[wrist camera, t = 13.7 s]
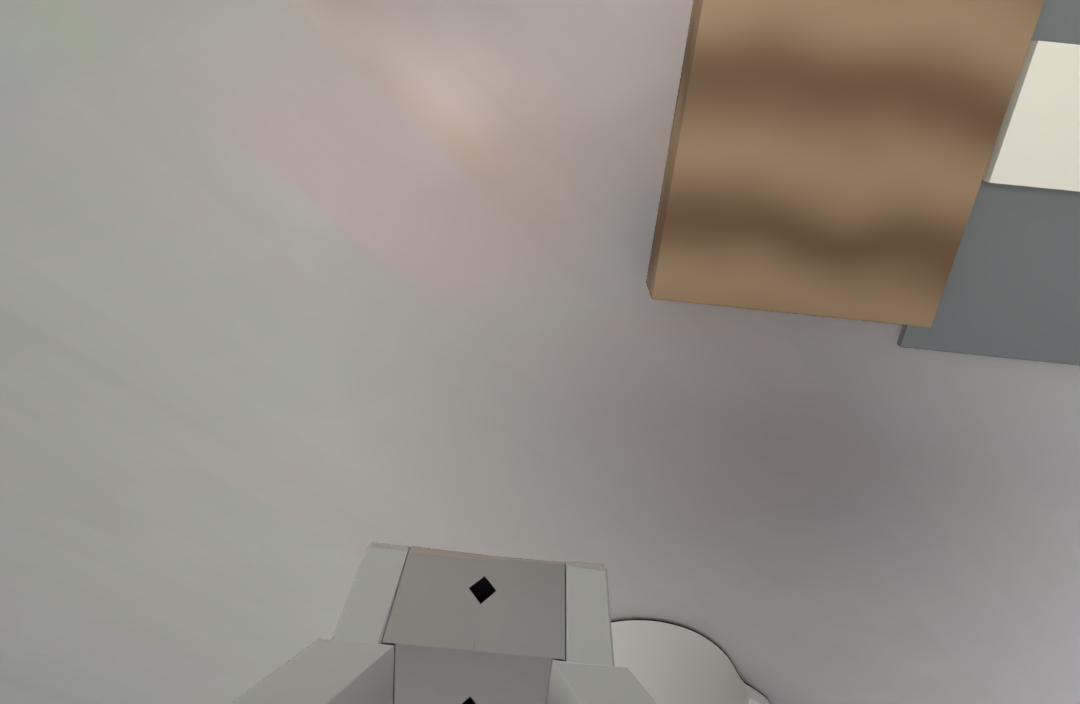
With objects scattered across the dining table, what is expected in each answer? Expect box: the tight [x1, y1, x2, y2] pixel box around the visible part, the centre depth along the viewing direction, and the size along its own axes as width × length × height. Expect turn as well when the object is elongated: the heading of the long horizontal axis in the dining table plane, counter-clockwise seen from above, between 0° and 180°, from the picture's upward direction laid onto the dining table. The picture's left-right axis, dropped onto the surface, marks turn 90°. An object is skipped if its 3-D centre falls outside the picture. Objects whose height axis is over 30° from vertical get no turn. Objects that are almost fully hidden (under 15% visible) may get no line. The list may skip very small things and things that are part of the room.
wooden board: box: [646, 0, 1045, 327], centre depth 33 cm, size 20×14×2 cm
